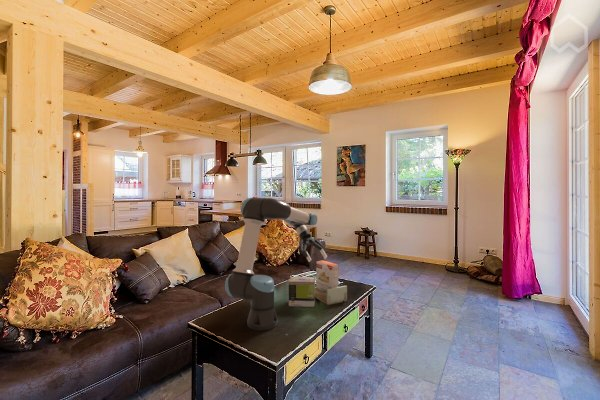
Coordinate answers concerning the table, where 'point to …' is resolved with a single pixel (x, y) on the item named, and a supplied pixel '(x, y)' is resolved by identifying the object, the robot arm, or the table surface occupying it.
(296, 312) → the table surface
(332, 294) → the book trough
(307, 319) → the table surface
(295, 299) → the tea box
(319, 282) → the cracker box
